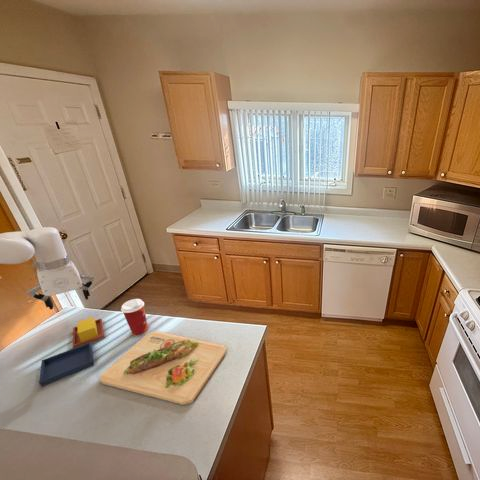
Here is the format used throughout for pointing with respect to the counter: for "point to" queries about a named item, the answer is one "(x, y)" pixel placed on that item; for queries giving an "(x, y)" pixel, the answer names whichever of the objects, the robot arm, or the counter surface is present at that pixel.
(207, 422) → the counter surface
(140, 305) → the paper cup
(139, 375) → the cutting board
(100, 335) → the sponge dish
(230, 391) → the counter surface
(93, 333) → the sponge
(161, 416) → the counter surface
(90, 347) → the baking tray
